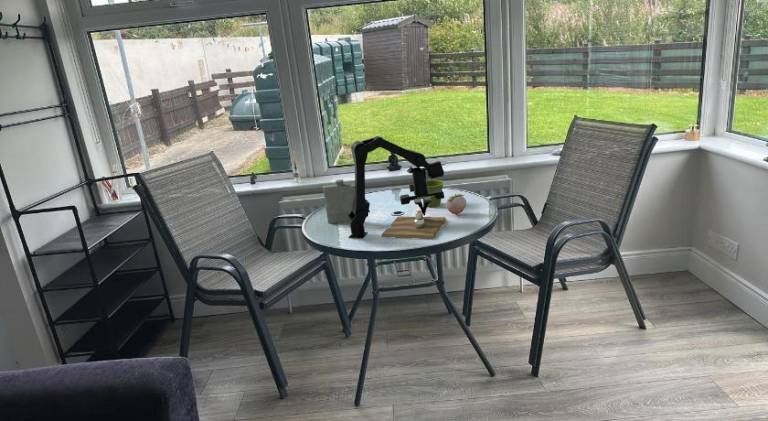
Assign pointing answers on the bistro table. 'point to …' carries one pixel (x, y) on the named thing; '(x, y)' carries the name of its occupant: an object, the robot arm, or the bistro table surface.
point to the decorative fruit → (456, 204)
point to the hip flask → (339, 201)
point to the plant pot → (432, 186)
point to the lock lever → (419, 219)
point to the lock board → (414, 228)
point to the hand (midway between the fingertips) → (424, 215)
